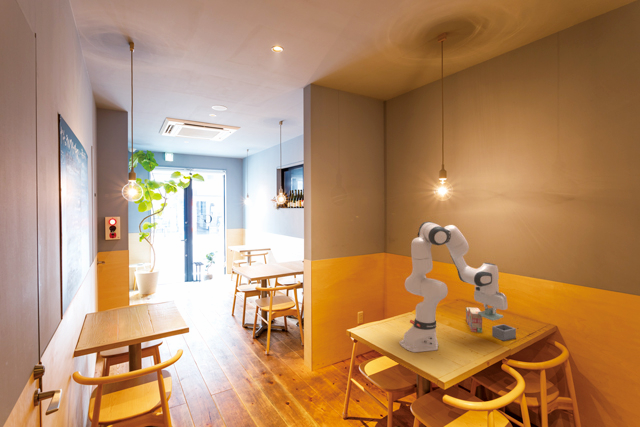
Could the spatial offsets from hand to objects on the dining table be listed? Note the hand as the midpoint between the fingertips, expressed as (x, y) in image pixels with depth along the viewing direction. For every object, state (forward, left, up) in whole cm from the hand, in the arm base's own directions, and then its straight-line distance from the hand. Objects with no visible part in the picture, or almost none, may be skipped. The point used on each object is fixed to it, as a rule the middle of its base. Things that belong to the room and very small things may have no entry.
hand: (490, 312), depth 186 cm
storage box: (+12, 0, -17) cm, 21 cm away
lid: (0, 0, -3) cm, 3 cm away
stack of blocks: (+9, +20, -17) cm, 29 cm away
